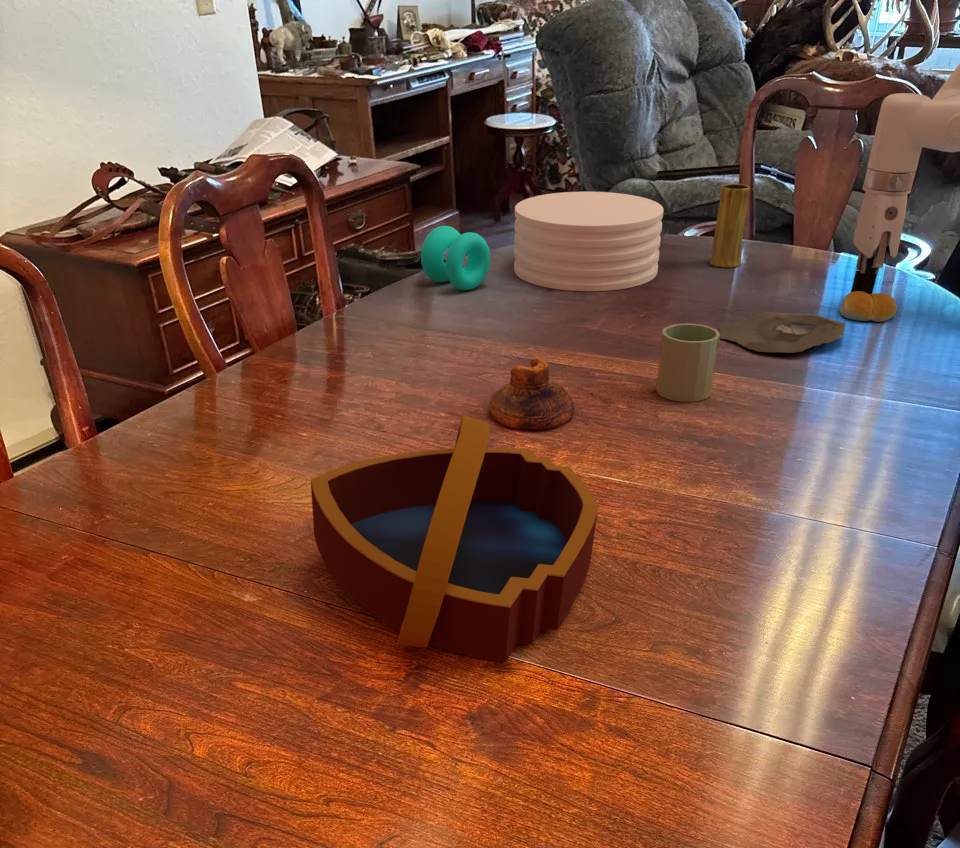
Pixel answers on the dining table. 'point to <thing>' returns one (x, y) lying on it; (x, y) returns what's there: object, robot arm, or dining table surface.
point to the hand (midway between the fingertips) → (860, 295)
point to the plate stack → (587, 240)
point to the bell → (531, 399)
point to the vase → (730, 226)
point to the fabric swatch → (782, 331)
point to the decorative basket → (458, 542)
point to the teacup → (687, 362)
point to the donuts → (455, 257)
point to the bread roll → (868, 306)
